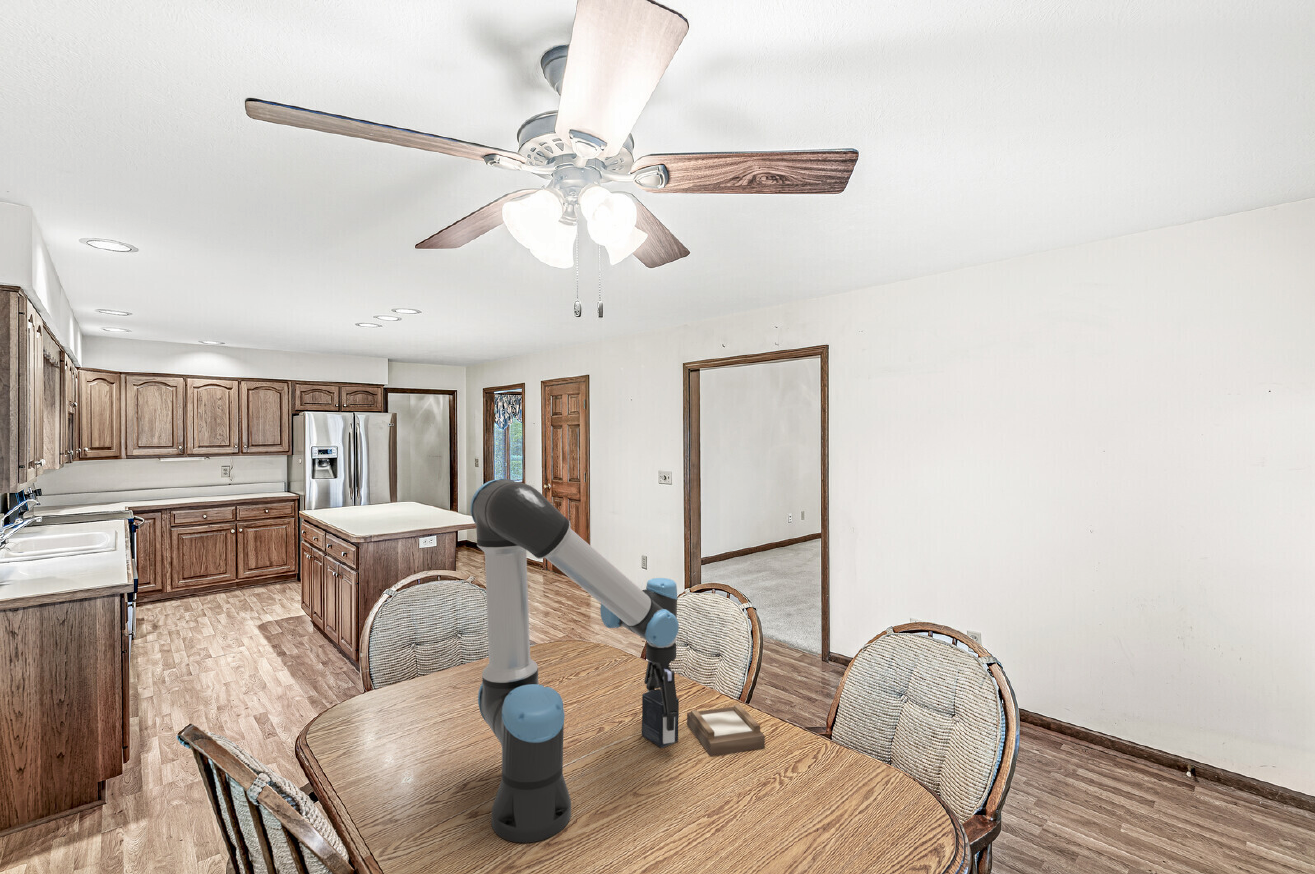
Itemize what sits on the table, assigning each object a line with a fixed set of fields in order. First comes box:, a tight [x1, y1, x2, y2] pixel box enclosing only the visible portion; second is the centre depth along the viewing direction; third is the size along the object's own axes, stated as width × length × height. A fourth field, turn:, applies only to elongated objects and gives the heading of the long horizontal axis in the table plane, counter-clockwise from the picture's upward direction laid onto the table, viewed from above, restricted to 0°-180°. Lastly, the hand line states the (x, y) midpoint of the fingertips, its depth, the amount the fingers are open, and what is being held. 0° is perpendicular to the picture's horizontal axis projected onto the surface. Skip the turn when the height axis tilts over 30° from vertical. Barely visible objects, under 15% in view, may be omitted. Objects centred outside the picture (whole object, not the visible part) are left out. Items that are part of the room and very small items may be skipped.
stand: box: [686, 703, 766, 757], centre depth 147 cm, size 16×14×4 cm
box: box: [641, 688, 680, 749], centre depth 145 cm, size 8×6×11 cm
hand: (660, 728), depth 145 cm, fingers open, 13 cm apart
